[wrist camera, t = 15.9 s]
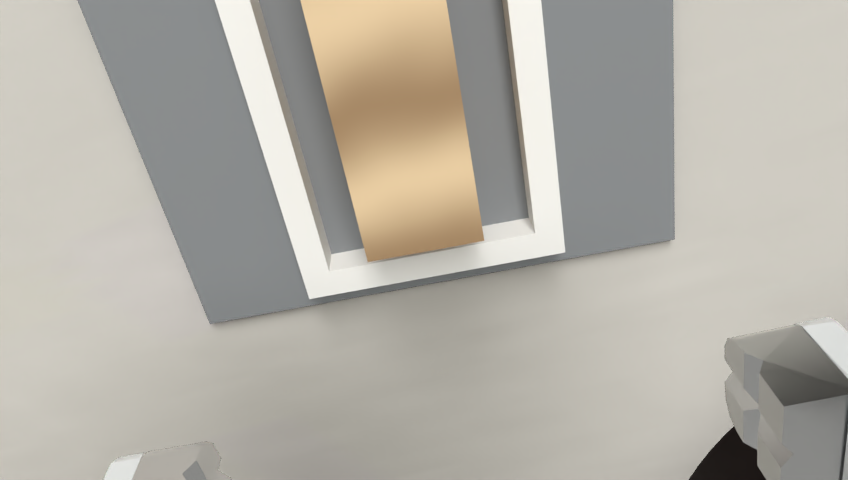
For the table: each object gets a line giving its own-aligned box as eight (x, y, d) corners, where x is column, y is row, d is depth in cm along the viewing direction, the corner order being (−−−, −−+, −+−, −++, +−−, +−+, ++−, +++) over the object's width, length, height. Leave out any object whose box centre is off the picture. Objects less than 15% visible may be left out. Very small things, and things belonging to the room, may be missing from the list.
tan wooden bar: (296, -89, 25) (280, -79, 21) (421, -114, 24) (429, -109, 20) (369, 209, 30) (367, 262, 26) (471, 191, 30) (484, 240, 26)
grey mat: (211, 319, 33) (202, 343, 32) (5, -189, 23) (-24, -193, 21) (671, 235, 32) (687, 255, 31) (666, -333, 22) (689, -349, 20)
